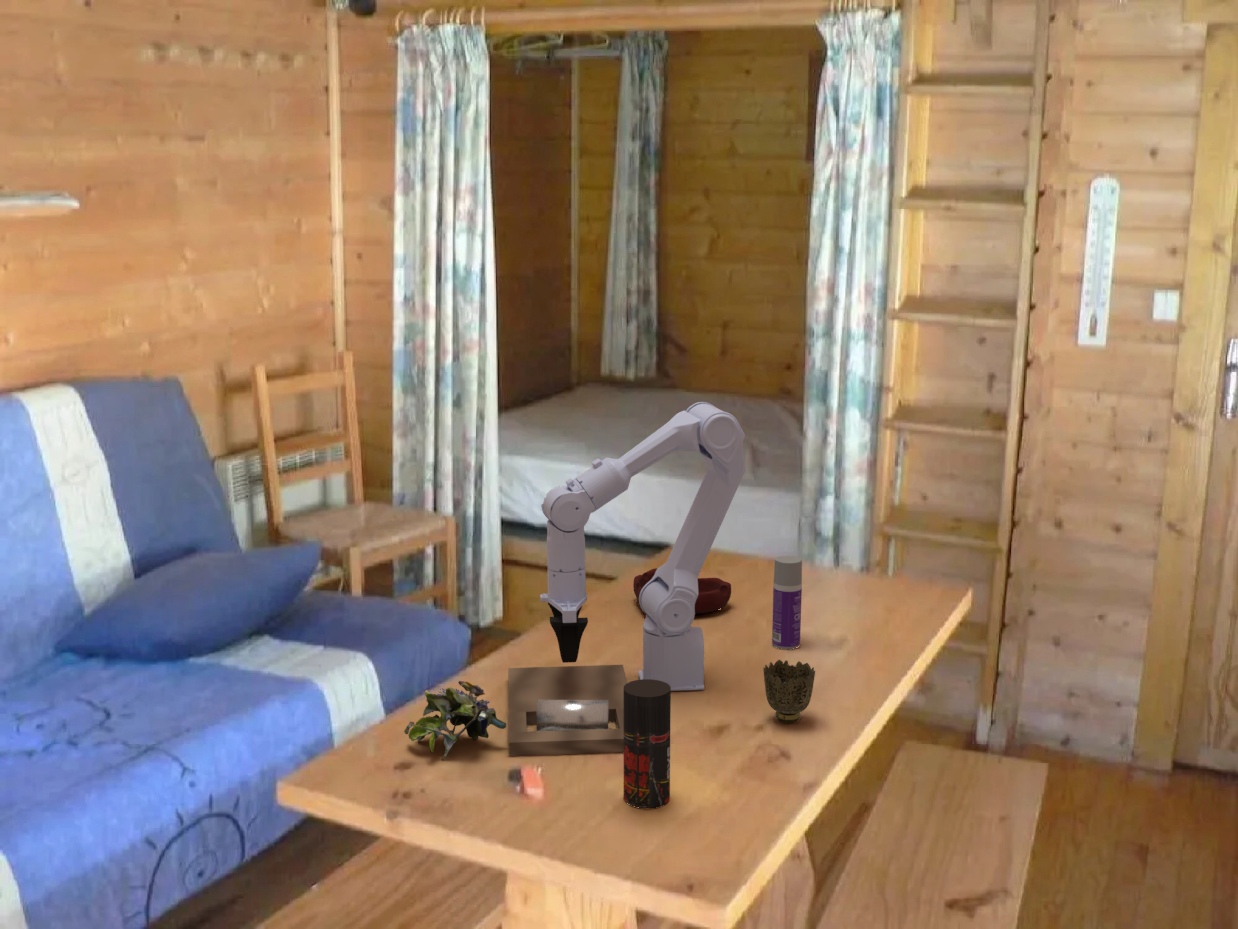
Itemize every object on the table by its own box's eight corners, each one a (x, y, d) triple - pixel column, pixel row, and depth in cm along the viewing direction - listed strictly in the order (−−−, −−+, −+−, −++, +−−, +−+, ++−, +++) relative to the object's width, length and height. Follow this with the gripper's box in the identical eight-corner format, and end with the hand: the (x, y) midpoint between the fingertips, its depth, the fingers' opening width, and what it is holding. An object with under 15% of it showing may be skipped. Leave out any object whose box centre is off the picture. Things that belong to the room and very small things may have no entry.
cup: (818, 714, 202) (819, 662, 200) (808, 733, 195) (809, 680, 193) (768, 707, 204) (769, 656, 202) (756, 726, 197) (758, 674, 195)
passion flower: (473, 775, 194) (522, 712, 192) (441, 794, 184) (492, 728, 181) (415, 722, 197) (463, 659, 194) (381, 738, 186) (430, 672, 184)
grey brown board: (622, 676, 216) (622, 664, 216) (640, 751, 189) (640, 738, 188) (508, 680, 215) (508, 668, 214) (509, 756, 187) (508, 742, 187)
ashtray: (607, 613, 247) (606, 586, 246) (656, 590, 260) (657, 565, 259) (691, 632, 237) (691, 605, 236) (738, 607, 250) (739, 581, 249)
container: (798, 650, 227) (801, 564, 224) (770, 648, 228) (772, 562, 225) (801, 641, 232) (803, 556, 228) (773, 639, 233) (775, 554, 229)
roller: (608, 729, 197) (608, 695, 197) (607, 740, 192) (607, 706, 192) (539, 729, 197) (539, 695, 197) (536, 740, 192) (536, 705, 192)
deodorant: (621, 788, 178) (621, 680, 175) (667, 787, 178) (667, 678, 175) (625, 810, 172) (625, 697, 169) (672, 808, 173) (673, 696, 169)
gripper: (538, 553, 212) (540, 637, 215) (541, 582, 198) (543, 671, 201) (583, 552, 212) (585, 635, 215) (589, 580, 198) (591, 669, 201)
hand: (568, 652), depth 208 cm, fingers open, 7 cm apart
